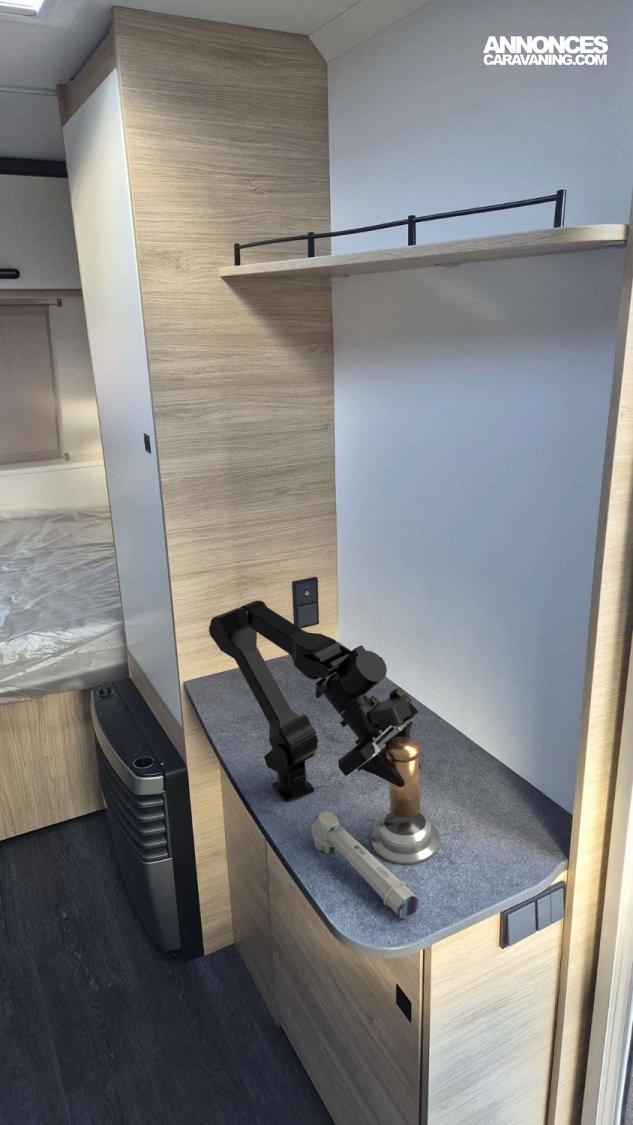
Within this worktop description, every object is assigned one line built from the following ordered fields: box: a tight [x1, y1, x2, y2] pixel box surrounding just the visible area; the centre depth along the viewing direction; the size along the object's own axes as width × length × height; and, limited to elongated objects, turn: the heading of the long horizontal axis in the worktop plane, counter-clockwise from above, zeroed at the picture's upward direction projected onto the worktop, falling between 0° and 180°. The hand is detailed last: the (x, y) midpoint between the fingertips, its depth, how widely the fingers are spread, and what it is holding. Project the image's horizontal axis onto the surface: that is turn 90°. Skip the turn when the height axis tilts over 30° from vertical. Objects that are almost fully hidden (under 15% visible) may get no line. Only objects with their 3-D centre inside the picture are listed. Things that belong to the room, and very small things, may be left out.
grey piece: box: [311, 810, 420, 920], centre depth 131 cm, size 5×7×25 cm
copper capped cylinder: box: [385, 736, 421, 817], centre depth 134 cm, size 6×6×12 cm
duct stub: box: [370, 808, 441, 866], centre depth 138 cm, size 12×12×4 cm
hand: (411, 777), depth 133 cm, fingers closed on copper capped cylinder, 5 cm apart
